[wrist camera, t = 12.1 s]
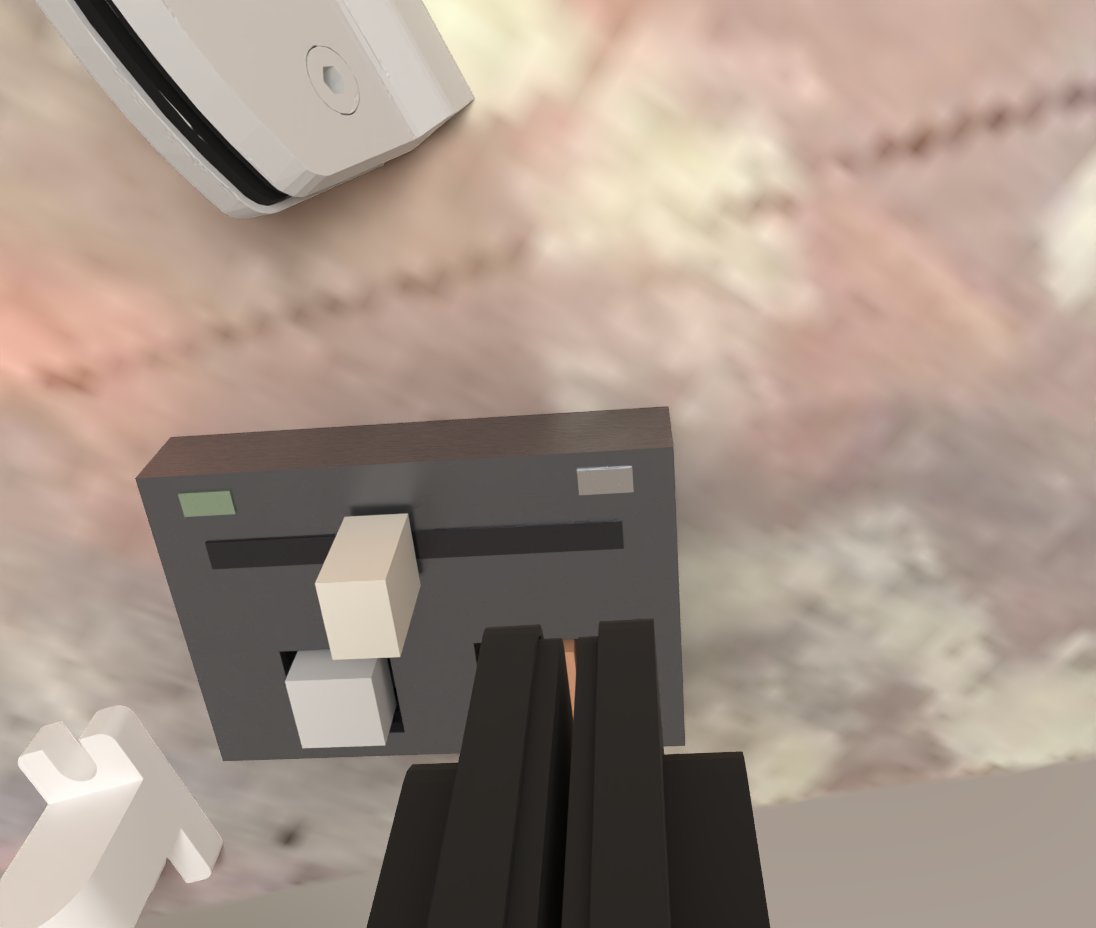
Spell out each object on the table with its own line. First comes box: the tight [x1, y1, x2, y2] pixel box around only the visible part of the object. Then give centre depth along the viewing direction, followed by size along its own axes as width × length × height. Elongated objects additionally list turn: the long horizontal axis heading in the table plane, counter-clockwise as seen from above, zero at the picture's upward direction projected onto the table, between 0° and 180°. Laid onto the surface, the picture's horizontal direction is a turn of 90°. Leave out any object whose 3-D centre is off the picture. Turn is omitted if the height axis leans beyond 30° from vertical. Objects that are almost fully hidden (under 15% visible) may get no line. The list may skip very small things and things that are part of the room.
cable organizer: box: [0, 705, 223, 928], centre depth 47 cm, size 5×10×10 cm, turn 21°
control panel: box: [135, 407, 685, 761], centre depth 42 cm, size 20×14×4 cm
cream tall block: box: [315, 513, 421, 660], centre depth 37 cm, size 2×3×4 cm
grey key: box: [285, 649, 396, 748], centre depth 43 cm, size 4×4×2 cm
